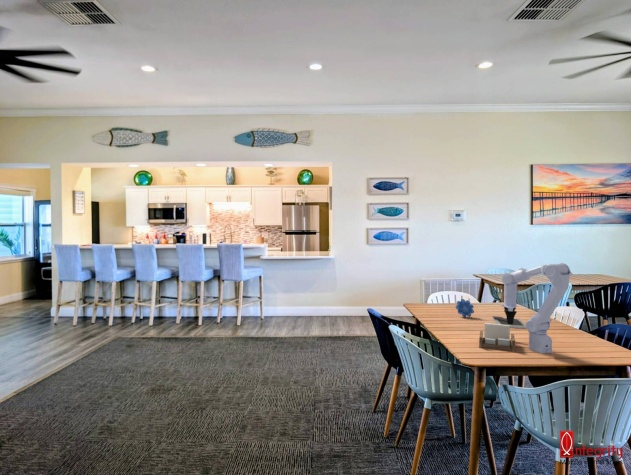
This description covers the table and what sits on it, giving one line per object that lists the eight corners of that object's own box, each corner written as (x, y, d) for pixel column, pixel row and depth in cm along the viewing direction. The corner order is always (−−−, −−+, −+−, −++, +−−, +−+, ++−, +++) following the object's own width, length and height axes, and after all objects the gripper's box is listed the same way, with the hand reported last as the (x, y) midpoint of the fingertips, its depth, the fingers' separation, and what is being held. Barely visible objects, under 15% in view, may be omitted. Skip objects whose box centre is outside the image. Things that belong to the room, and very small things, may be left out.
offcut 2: (509, 350, 190) (509, 340, 190) (498, 348, 192) (498, 339, 192) (509, 348, 192) (509, 339, 192) (497, 347, 194) (498, 338, 194)
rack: (515, 353, 187) (515, 341, 187) (478, 349, 194) (478, 337, 194) (513, 340, 209) (513, 329, 209) (480, 336, 216) (480, 326, 216)
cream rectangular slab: (509, 341, 206) (509, 325, 206) (484, 338, 211) (484, 323, 211) (509, 340, 208) (509, 325, 207) (484, 337, 212) (484, 322, 212)
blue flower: (456, 318, 261) (456, 299, 261) (454, 315, 268) (455, 298, 267) (475, 318, 259) (475, 300, 258) (473, 316, 265) (473, 298, 265)
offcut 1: (495, 348, 192) (495, 340, 192) (485, 347, 194) (485, 339, 194) (495, 347, 195) (495, 338, 195) (485, 345, 197) (485, 337, 196)
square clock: (492, 320, 257) (498, 328, 237) (492, 316, 257) (498, 323, 237) (519, 322, 253) (528, 330, 233) (519, 317, 253) (528, 325, 233)
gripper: (501, 293, 213) (500, 318, 213) (501, 298, 199) (501, 324, 200) (516, 294, 210) (515, 320, 210) (517, 299, 196) (517, 326, 197)
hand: (509, 322), depth 205 cm, fingers open, 7 cm apart
